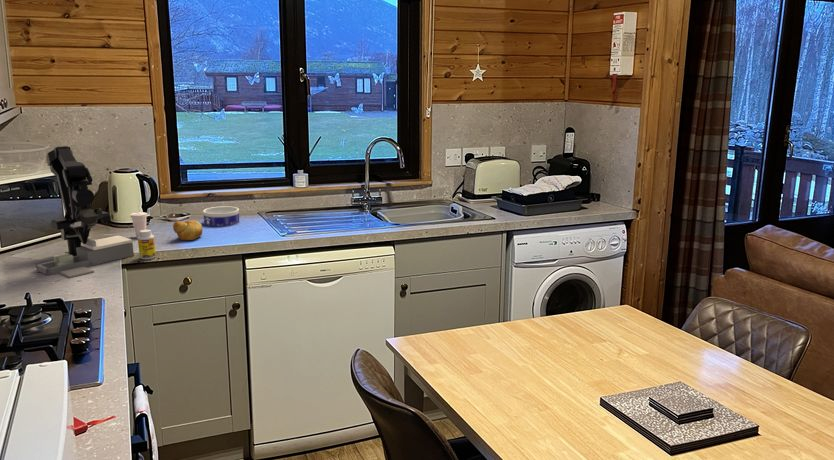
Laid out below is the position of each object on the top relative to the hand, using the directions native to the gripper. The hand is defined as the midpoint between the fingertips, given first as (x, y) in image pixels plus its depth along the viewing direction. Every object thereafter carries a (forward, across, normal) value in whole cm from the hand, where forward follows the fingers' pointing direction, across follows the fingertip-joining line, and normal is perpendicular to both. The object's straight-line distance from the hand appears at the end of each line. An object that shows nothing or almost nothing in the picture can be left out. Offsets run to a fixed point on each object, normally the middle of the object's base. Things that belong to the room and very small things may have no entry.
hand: (84, 243), depth 242 cm
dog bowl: (+7, +67, +16) cm, 70 cm away
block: (+7, -8, 0) cm, 11 cm away
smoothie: (+7, +31, +20) cm, 38 cm away
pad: (+7, -8, -10) cm, 14 cm away
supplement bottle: (+7, +17, -11) cm, 22 cm away
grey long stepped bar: (+7, 0, 0) cm, 7 cm away
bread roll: (+7, +44, +3) cm, 44 cm away
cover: (+2, +8, 0) cm, 8 cm away
